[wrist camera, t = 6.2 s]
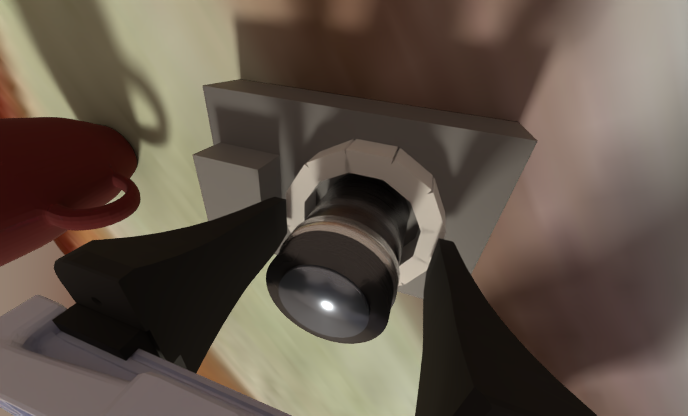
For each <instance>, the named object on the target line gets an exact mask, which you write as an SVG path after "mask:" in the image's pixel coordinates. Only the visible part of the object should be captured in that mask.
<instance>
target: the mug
mask: <svg viewBox="0 0 688 416" xmlns="http://www.w3.org/2000/svg"><path fill="white" fill-rule="evenodd" d="M136 168H137V159H136V156H135V153H134V151H133V149H132V147H131V146H130V144H129V143H128V142H127V140H126V139H125V138H124V137H123V136H122V135H121V134H120V133H118V132H117V131H115V130H114V129H112V128H110V127H107V126H103V125H98V124H93V123H89V122H84V121H79V120H73V119H67V118H58V117H37V118H6V119H0V266H2V265H4V264H7V263H9V262H11V261H13V260H15V259H17V258H19V257H21V256H23V255H26V254H27V253H30V252H32V251H33V250H36V249H38V248H40V247H42V246H43V245H45V244H47V243H49V242H51V241H52V240H54V239H55V238H57V237H59V236H60V235H62V234H63V233H64V232H66V231H67V230H91V229H97V228H102V227H106V226H109V225H112V224H115V223H117V222H120V221H122V220H123V219H125V218H127V217H129V216H130V215H131V214H133V213H134V212H135V211H136V210H137V208H138V206H139V204H140V192H139V190H138V188H137V186H136V185H135V183H134V182H133V181H132V180H131V179H130V178H131V176H132V175H133V173H134V172H135V170H136ZM121 190H123V191H124V192H125V194H124V195H123V196H122V197H121V198H120V199H118V200H116V201H114V202H112V203H109V204H107V203H108V202H109V201H111V200H112V199H113V198H114V197H116V196H117V195H118V194H119V193H120V191H121ZM105 204H106V205H105Z"/></svg>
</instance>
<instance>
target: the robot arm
mask: <svg viewBox="0 0 688 416" xmlns="http://www.w3.org/2000/svg"><path fill="white" fill-rule="evenodd" d="M286 234H287V209H286V199H282V198H279V197H272V198H269V199H266V200H264V201H261V202H259V203H256V204H254V205H251V206H249V207H246V208H244V209H241V210H239V211H236V212H234V213H231V214H228V215H225V216H222V217H220V218H217V219H214V220H211V221H208V222H204V223H201V224H197V225H193V226H190V227H185V228H181V229H176V230H171V231H166V232H161V233H155V234H149V235H142V236H135V237H127V238H115V239H104V240H92V241H90V242H88V243H86V244H85V245H83V246H81V247H79V248H77V249H75V250H74V251H72V252H70V253H68V254H66V255H65V256H63V257H61V258H59V259H58V260H56V261H55V264H54V270H55V273H56V275H57V276H58V278H59V279H60V281H61V282H62V284H63V285H64V286H65V288H66V289H67V291H68V292H69V294H70V295H71V296H72V298H73V299H74V300H75V302H76V304H74V305H73V306H71V307H70V308H69V309H66V308H65V307H64V306H63V305H61V304H59V303H57V302H55V301H53V300H50V299H48V298H46V297H43V296H41V295H35V296H34V297H32V298H30V299H28V300H27V301H25V302H23V303H22V304H20V305H19V306H17V307H15V308H14V309H12V310H10V311H9V312H7V313H5V314H4V315H2V316H1V317H0V407H1V408H2V409H4V410H6V411H7V412H9V413H11V414H12V415H14V416H291V415H289V414H287V413H284V412H282V411H280V410H278V409H275V408H273V407H271V406H268V405H266V404H264V403H262V402H259V401H257V400H255V399H253V398H250V397H248V396H246V395H243V394H241V393H239V392H237V391H234V390H232V389H230V388H228V387H225V386H223V385H221V384H218V383H216V382H214V381H212V380H209V379H207V378H205V377H203V376H200V375H198V374H196V373H197V371H198V369H199V367H200V365H201V363H202V361H203V359H204V358H205V356H206V354H207V352H208V350H209V348H210V346H211V345H212V343H213V341H214V339H215V338H216V336H217V334H218V332H219V331H220V329H221V327H222V325H223V324H224V322H225V321H226V319H227V317H228V316H229V314H230V312H231V311H232V309H233V307H234V306H235V304H236V303H237V301H238V300H239V298H240V297H241V295H242V294H243V292H244V291H245V289H246V288H247V287H248V285H249V284H250V283H251V281H252V280H253V279H254V278H255V277H256V275H257V274H258V273H259V272H260V270H261V269H262V268H263V267H264V266H265V264H266V263H267V262H268V261H269V259H270V258H271V257H272V256H273V254H274V253H275V252H276V251H277V249H278V248H279V246H280V245H281V243H282V241H283V240H284V238H285V236H286ZM415 416H597V415H596V414H595V413H594V412H593V411H592V410H591V409H589V408H588V407H587V406H586V405H585V404H584V403H583V402H582V401H580V400H579V399H578V398H577V397H576V396H575V395H574V394H573V393H571V392H570V391H569V390H568V389H567V388H566V387H565V386H564V385H562V384H561V383H560V382H559V381H558V380H557V379H556V378H555V377H554V376H553V375H552V374H551V373H550V372H549V371H548V370H547V369H546V368H545V367H544V366H543V365H542V364H541V363H540V362H539V361H538V360H537V359H536V358H535V357H534V356H533V355H532V354H531V353H530V352H529V351H528V350H527V349H526V348H525V347H524V346H523V344H522V343H521V342H520V341H519V340H518V339H517V338H516V337H515V335H514V334H513V333H512V332H511V331H510V330H509V329H508V327H507V326H506V325H505V324H504V323H503V321H502V320H501V319H500V317H499V316H498V315H497V314H496V312H495V311H494V310H493V308H492V307H491V306H490V304H489V303H488V301H487V300H486V299H485V297H484V295H483V294H482V292H481V291H480V289H479V288H478V286H477V284H476V283H475V281H474V279H473V278H472V276H471V274H470V272H469V271H468V269H467V267H466V265H465V263H464V261H463V259H462V257H461V255H460V253H459V251H458V249H457V247H456V245H455V243H454V242H453V241H449V240H445V239H441V238H438V241H437V244H436V247H435V249H434V252H433V255H432V258H431V260H430V263H429V266H428V269H427V271H426V277H425V285H424V293H423V353H422V363H421V372H420V381H419V389H418V397H417V405H416V413H415Z"/></svg>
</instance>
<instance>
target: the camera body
mask: <svg viewBox="0 0 688 416" xmlns="http://www.w3.org/2000/svg"><path fill="white" fill-rule="evenodd" d="M203 91H204V96H205V101H206V107H207V112H208V117H209V123H210V128H211V133H212V139H213V144H214V146H211V147H209V148H207V149H204V150H202V151H200V152H197V153H195V154H193V159H194V163H195V167H196V171H197V176H198V180H199V184H200V188H201V193H202V197H203V201H204V205H205V209H206V214H207V218H208V221H211V220H214V219H217V218H220V217H222V216H225V215H228V214H231V213H234V212H236V211H239V210H241V209H244V208H246V207H249V206H251V205H254V204H256V203H259V202H261V201H264V200H266V199H269V198H272V197H279V198H282V199H286V209H287V234H286V236H285V238H284V240H283V241H282V243H281V245H280V246H279V248H278V249H277V251H276V252H275V253H274V254H276V255H278V253H279V251H280V248H281V246H282V244H283V243H284V241H285V240H286V239H287V238H288V236H289V235H290V234H291V233H292V232H293V230H294V229H295V228H296V227H297V226H298V225H299V224H300V223H302V222H303V221H305V219H306V218H307V217H308V216H309V214H310V213H311V212H312V211H313V209H314V208H315V207H316V206H317V204H318V203H319V202H320V201H321V199H322V198H323V197H324V196H325V194H326V193H327V192H328V191H329V189H330V188H331V187H332V186H333V184H334V183H335V182H336V181H337V180H338V179H340V178H341V177H343V176H345V175H348V174H351V173H354V174H358V175H363V176H367V177H372V178H377V179H381V180H384V181H385V182H386V183H388V184H389V185H390V186H391V187H392V188H394V189H395V190H396V191H397V192H398V193H400V194H401V195H402V196H403V197H405V199H406V201H407V204H408V208H409V219H408V225H407V230H406V235H405V240H404V245H403V250H402V255H401V260H400V265H399V270H400V277H399V284H398V289H397V291H398V292H401V293H404V294H408V295H411V296H414V297H418V298H421V299H423V293H424V285H425V277H426V271H427V269H428V266H429V263H430V260H431V258H432V255H433V252H434V249H435V247H436V244H437V241H438V238H441V239H445V240H449V241H453V242H454V243H455V245H456V247H457V249H458V251H459V253H460V255H461V257H462V259H463V261H464V263H465V265H466V267H467V269H468V271H469V272H470V274H471V273H472V271H473V269H474V267H475V265H476V263H477V261H478V259H479V257H480V255H481V253H482V251H483V249H484V247H485V245H486V243H487V241H488V239H489V237H490V235H491V233H492V231H493V229H494V227H495V225H496V223H497V221H498V219H499V217H500V215H501V213H502V211H503V209H504V207H505V205H506V203H507V201H508V199H509V197H510V195H511V193H512V191H513V189H514V187H515V185H516V183H517V181H518V179H519V177H520V175H521V173H522V171H523V169H524V167H525V165H526V163H527V161H528V159H529V157H530V155H531V153H532V151H533V149H534V147H535V145H536V143H537V140H536V139H535V138H534V137H533V136H532V135H531V134H530V133H529V132H528V131H527V130H526V129H525V128H524V127H523V126H522V125H521V124H520V123H519V122H514V121H507V120H501V119H494V118H488V117H481V116H475V115H468V114H462V113H455V112H449V111H442V110H436V109H429V108H423V107H416V106H410V105H403V104H397V103H390V102H384V101H378V100H371V99H365V98H358V97H352V96H345V95H339V94H332V93H326V92H319V91H313V90H306V89H300V88H293V87H287V86H280V85H274V84H267V83H261V82H254V81H248V80H241V79H239V80H233V81H227V82H221V83H215V84H209V85H203Z"/></svg>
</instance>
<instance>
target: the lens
mask: <svg viewBox="0 0 688 416" xmlns="http://www.w3.org/2000/svg"><path fill="white" fill-rule="evenodd" d="M408 219H409V208H408V204H407V201H406V199H405V197H403V196H402V195H401V194H400V193H398V192H397V191H396V190H395V189H394V188H392V187H391V186H390V185H389V184H388V183H386V182H385V181H384V180H381V179H377V178H372V177H367V176H363V175H358V174H354V173H351V174H348V175H345V176H343V177H341V178H340V179H338V180H337V181H336V182H335V183H334V184H333V186H332V187H331V188H330V189H329V191H328V192H327V193H326V194H325V196H324V197H323V198H322V199H321V201H320V202H319V203H318V204H317V206H316V207H315V208H314V209H313V211H312V212H311V213H310V214H309V216H308V217H307V218H306V219H305V221H303V222H302V223H300V224H299V225H298V226H297V227H296V228H295V229H294V230H293V232H292V233H291V234H290V235H289V236H288V238H287V239H286V240H285V241H284V243H283V244H282V246H281V248H280V251H279V253H278V255H277V256H276V257H275V258H274V260H273V261H272V262H271V263H270V265H269V267H268V270H267V273H266V283H267V288H268V291H269V294H270V296H271V298H272V300H273V301H274V303H275V304H276V306H277V307H278V308H279V309H280V311H281V312H282V313H283V314H284V315H285V316H286V317H287V318H288V319H290V320H291V321H292V322H293V323H295V324H296V325H297V326H299V327H300V328H302V329H303V330H305V331H307V332H309V333H311V334H313V335H315V336H317V337H320V338H323V339H326V340H329V341H333V342H338V343H348V344H354V343H362V342H366V341H369V340H372V339H374V338H376V337H377V336H379V335H380V334H381V333H382V332H383V331H384V329H385V328H386V326H387V323H388V320H389V315H390V310H391V307H392V306H393V304H394V302H395V299H396V295H397V289H398V284H399V277H400V270H399V265H400V260H401V255H402V250H403V245H404V240H405V235H406V230H407V225H408Z"/></svg>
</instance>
